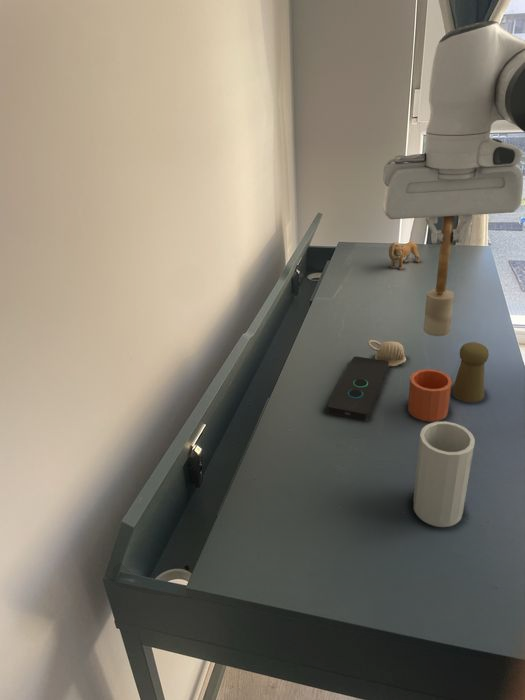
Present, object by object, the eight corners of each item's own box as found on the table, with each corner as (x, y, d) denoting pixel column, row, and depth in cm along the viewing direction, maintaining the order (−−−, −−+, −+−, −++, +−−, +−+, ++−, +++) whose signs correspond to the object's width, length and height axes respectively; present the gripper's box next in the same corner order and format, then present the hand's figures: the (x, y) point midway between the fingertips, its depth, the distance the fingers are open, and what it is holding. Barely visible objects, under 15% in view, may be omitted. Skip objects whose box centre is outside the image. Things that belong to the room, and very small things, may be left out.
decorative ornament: (405, 367, 115) (407, 346, 113) (367, 364, 117) (367, 344, 115) (406, 358, 119) (408, 337, 116) (368, 355, 121) (369, 335, 118)
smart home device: (325, 405, 103) (353, 355, 118) (325, 412, 103) (353, 361, 119) (367, 413, 99) (390, 360, 115) (367, 421, 100) (390, 367, 116)
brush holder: (442, 398, 105) (446, 368, 101) (452, 421, 98) (456, 390, 95) (404, 399, 105) (407, 369, 102) (412, 422, 99) (414, 391, 96)
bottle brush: (446, 323, 95) (460, 200, 84) (452, 335, 91) (468, 208, 80) (421, 325, 95) (432, 202, 84) (426, 336, 91) (438, 210, 80)
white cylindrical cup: (455, 491, 83) (466, 420, 76) (468, 527, 77) (481, 454, 70) (409, 491, 84) (415, 422, 77) (418, 527, 78) (426, 455, 71)
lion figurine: (398, 274, 160) (399, 246, 156) (383, 270, 164) (384, 242, 159) (423, 260, 169) (425, 232, 165) (408, 256, 173) (410, 229, 168)
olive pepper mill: (474, 383, 108) (481, 336, 103) (490, 399, 103) (498, 351, 98) (446, 387, 108) (452, 340, 102) (461, 404, 103) (468, 356, 97)
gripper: (387, 160, 76) (383, 252, 83) (534, 150, 74) (518, 245, 81) (381, 152, 81) (377, 239, 88) (518, 143, 80) (503, 232, 87)
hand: (446, 242), depth 85 cm, fingers closed on bottle brush
